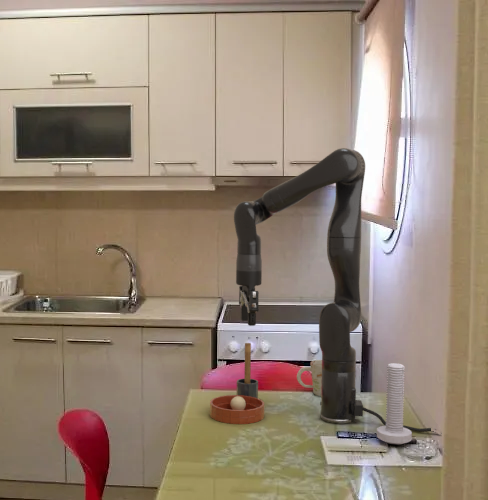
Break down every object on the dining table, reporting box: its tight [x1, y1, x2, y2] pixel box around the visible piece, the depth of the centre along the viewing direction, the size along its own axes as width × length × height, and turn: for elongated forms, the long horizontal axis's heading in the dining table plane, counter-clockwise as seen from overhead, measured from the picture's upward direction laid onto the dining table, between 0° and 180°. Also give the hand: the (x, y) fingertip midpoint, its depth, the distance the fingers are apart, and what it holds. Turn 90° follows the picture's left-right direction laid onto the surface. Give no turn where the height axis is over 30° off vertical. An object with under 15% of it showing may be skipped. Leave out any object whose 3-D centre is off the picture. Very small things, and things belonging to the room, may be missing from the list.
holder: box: [236, 378, 259, 399], centre depth 208 cm, size 6×6×7 cm
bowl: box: [209, 394, 265, 425], centre depth 195 cm, size 15×15×4 cm
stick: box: [243, 342, 252, 384], centre depth 207 cm, size 2×2×18 cm
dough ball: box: [231, 396, 246, 410], centre depth 199 cm, size 4×4×4 cm
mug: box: [296, 359, 322, 397], centre depth 219 cm, size 8×13×10 cm, turn 78°
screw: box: [376, 362, 413, 446], centre depth 175 cm, size 8×8×20 cm
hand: (248, 322), depth 206 cm, fingers open, 8 cm apart
